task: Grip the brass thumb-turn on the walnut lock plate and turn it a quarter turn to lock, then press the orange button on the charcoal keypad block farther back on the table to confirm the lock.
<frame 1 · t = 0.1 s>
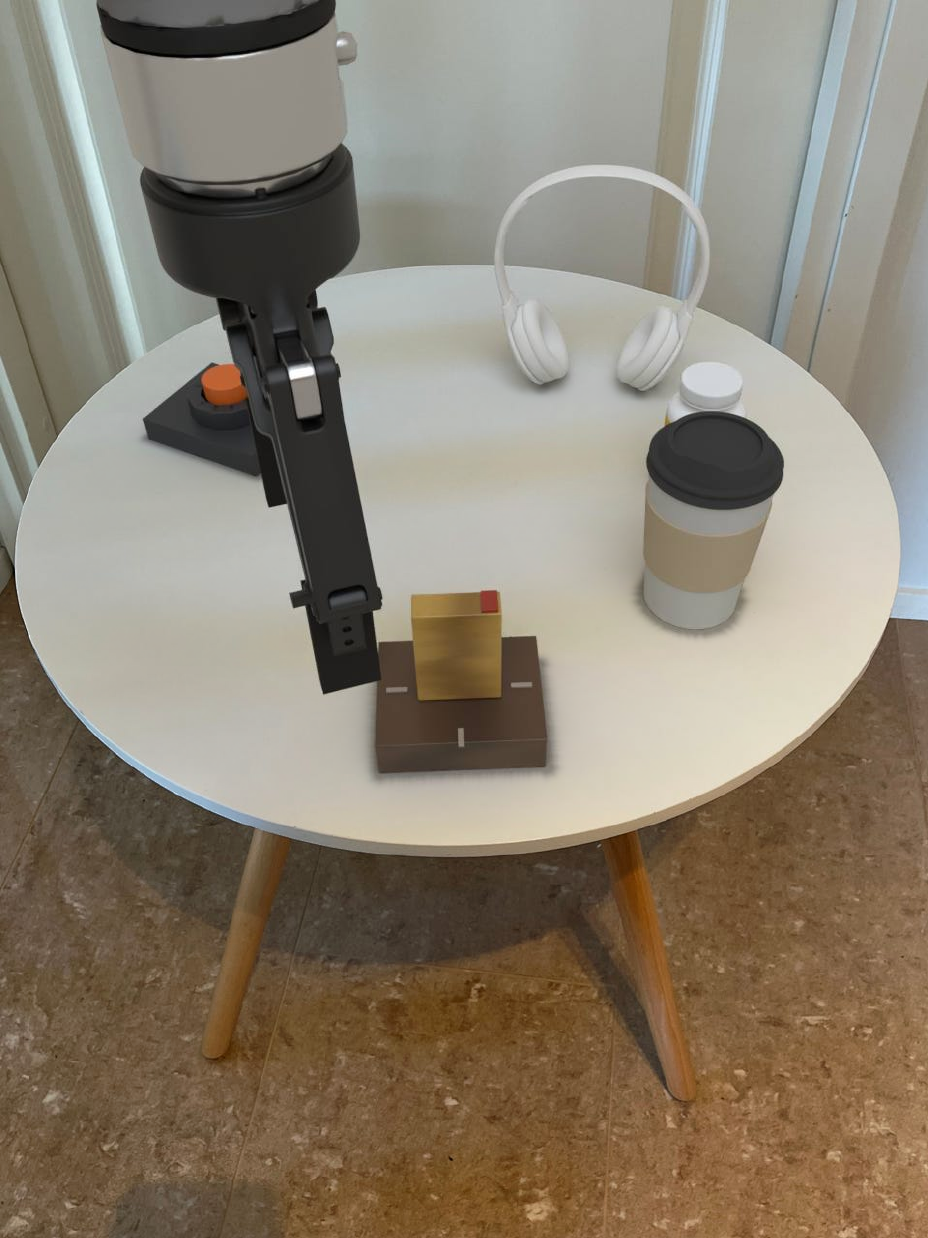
hand: (318, 582, 53), 20 cm above the table, tool pointing down, fingers open, 13 cm apart
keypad: (235, 426, 96), on the table
headphones: (591, 382, 100), on the table
lock plate: (460, 716, 72), on the table
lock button: (226, 384, 93), point 4 cm above the table, slide at 0.1 cm
coffee cup: (689, 598, 80), on the table
lock knob: (457, 646, 67), point 7 cm above the table, hinge at 0.0°
pill bottle: (692, 492, 89), on the table
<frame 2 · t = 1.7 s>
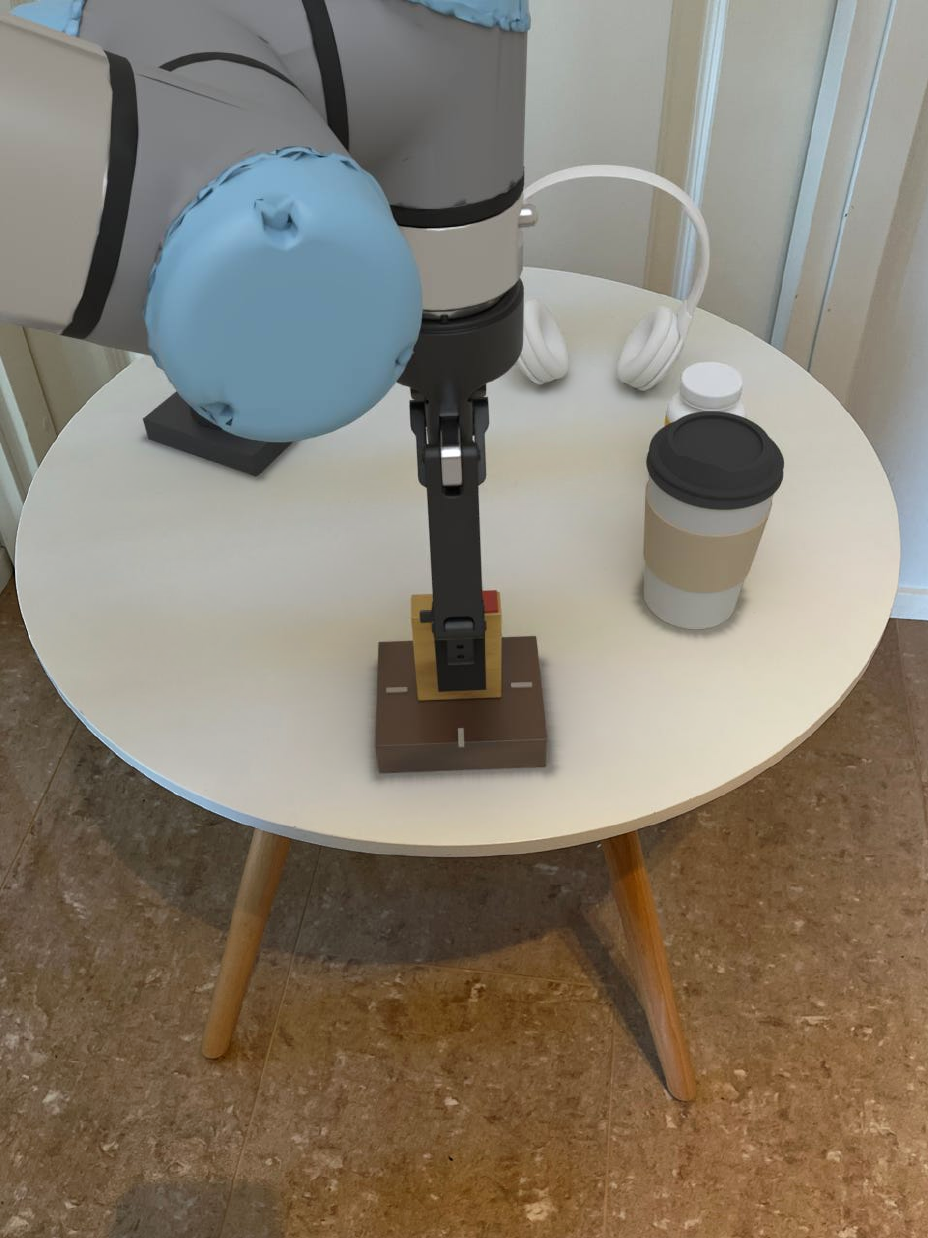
hand: (458, 600, 64), 11 cm above the table, tool pointing down, fingers open, 13 cm apart
nothing on the table moved.
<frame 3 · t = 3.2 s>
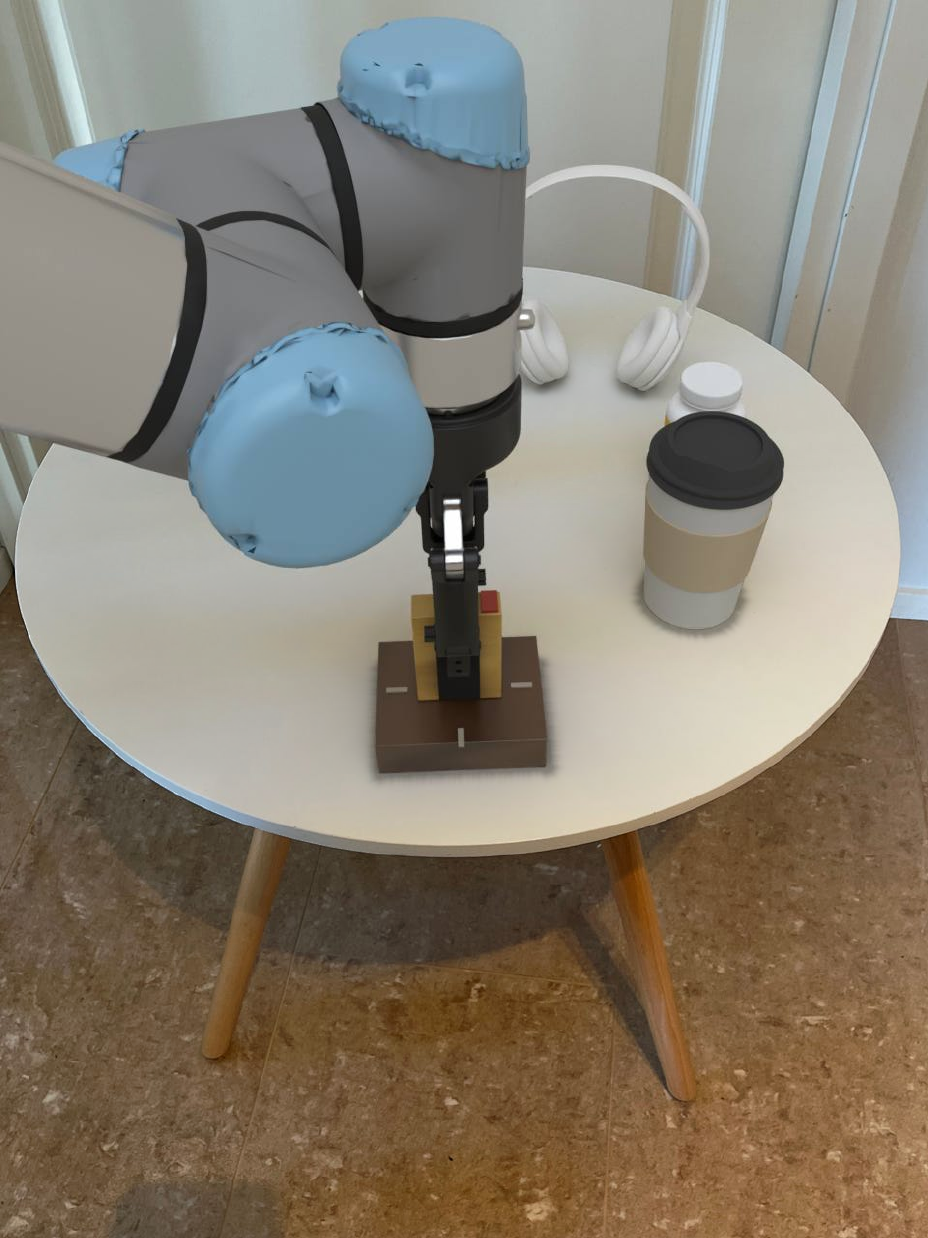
hand: (458, 678, 70), 4 cm above the table, tool pointing down, fingers closed on lock knob, 2 cm apart
lock knob: (457, 646, 67), point 7 cm above the table, hinge at 0.0°, touching gripper
everything else where it was.
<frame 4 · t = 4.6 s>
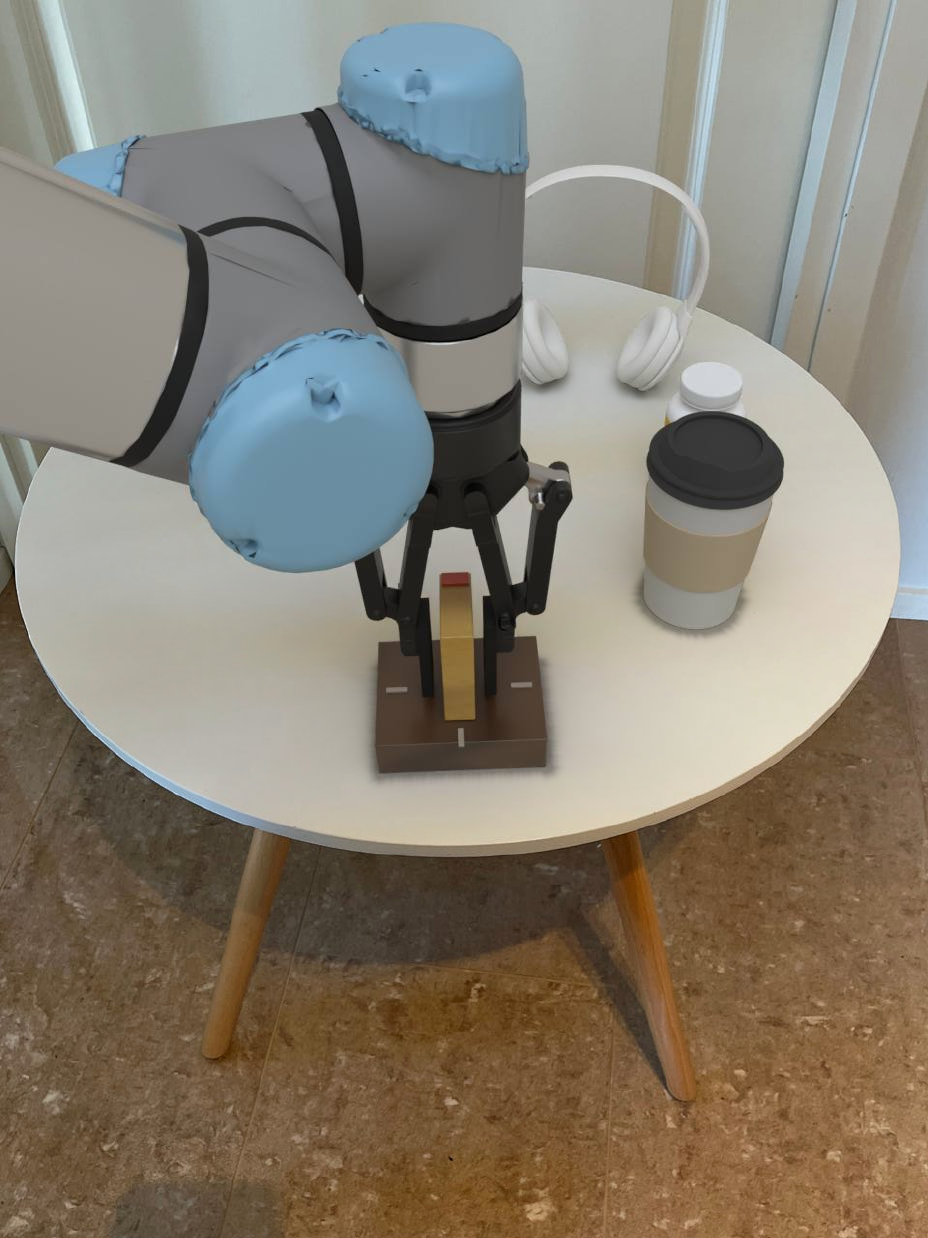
hand: (459, 679, 70), 4 cm above the table, tool pointing down, fingers open, 3 cm apart
lock knob: (457, 646, 67), point 7 cm above the table, hinge at 89.5°
everything else where it was.
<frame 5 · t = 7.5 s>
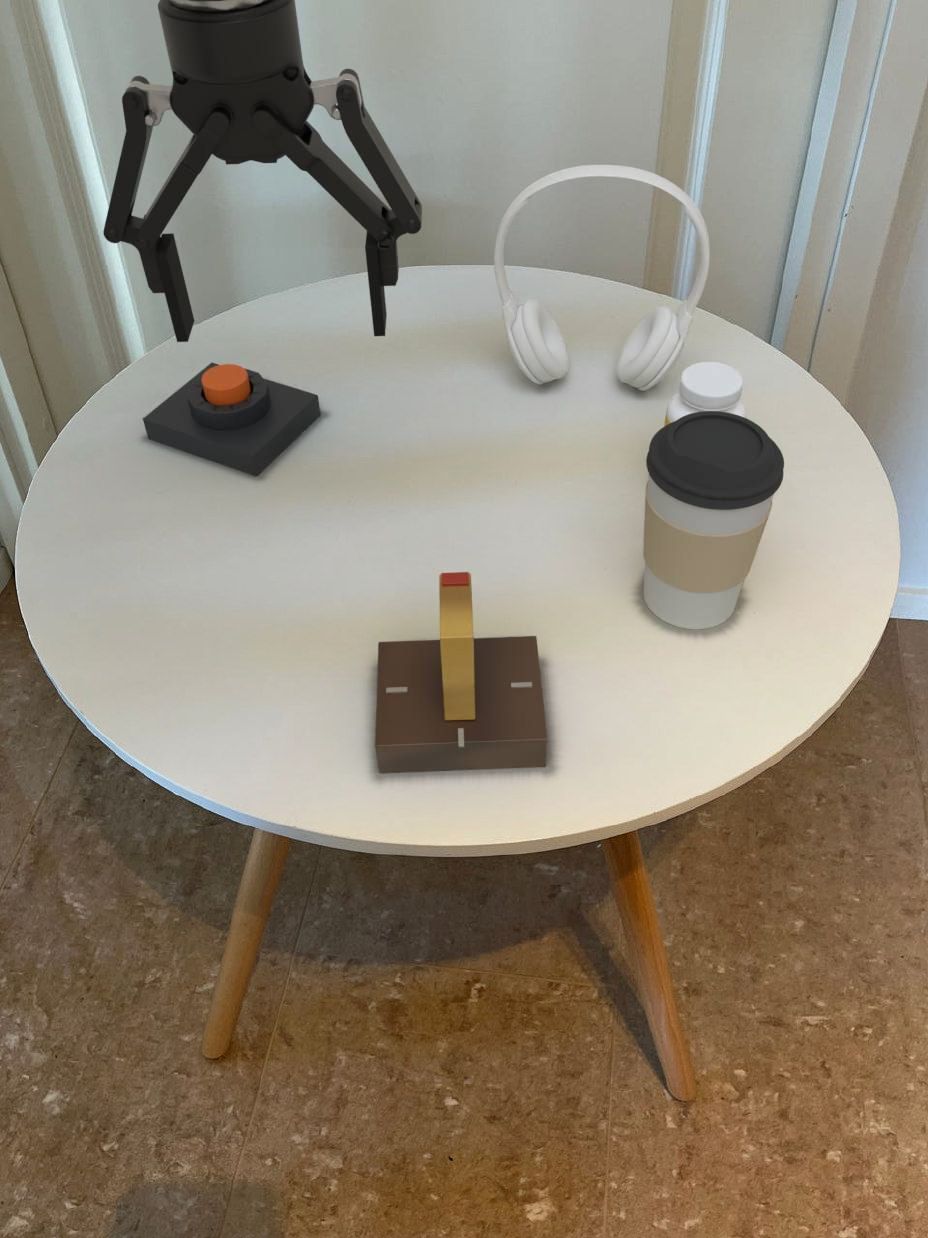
hand: (283, 328, 74), 18 cm above the table, tool pointing down, fingers open, 13 cm apart
nothing on the table moved.
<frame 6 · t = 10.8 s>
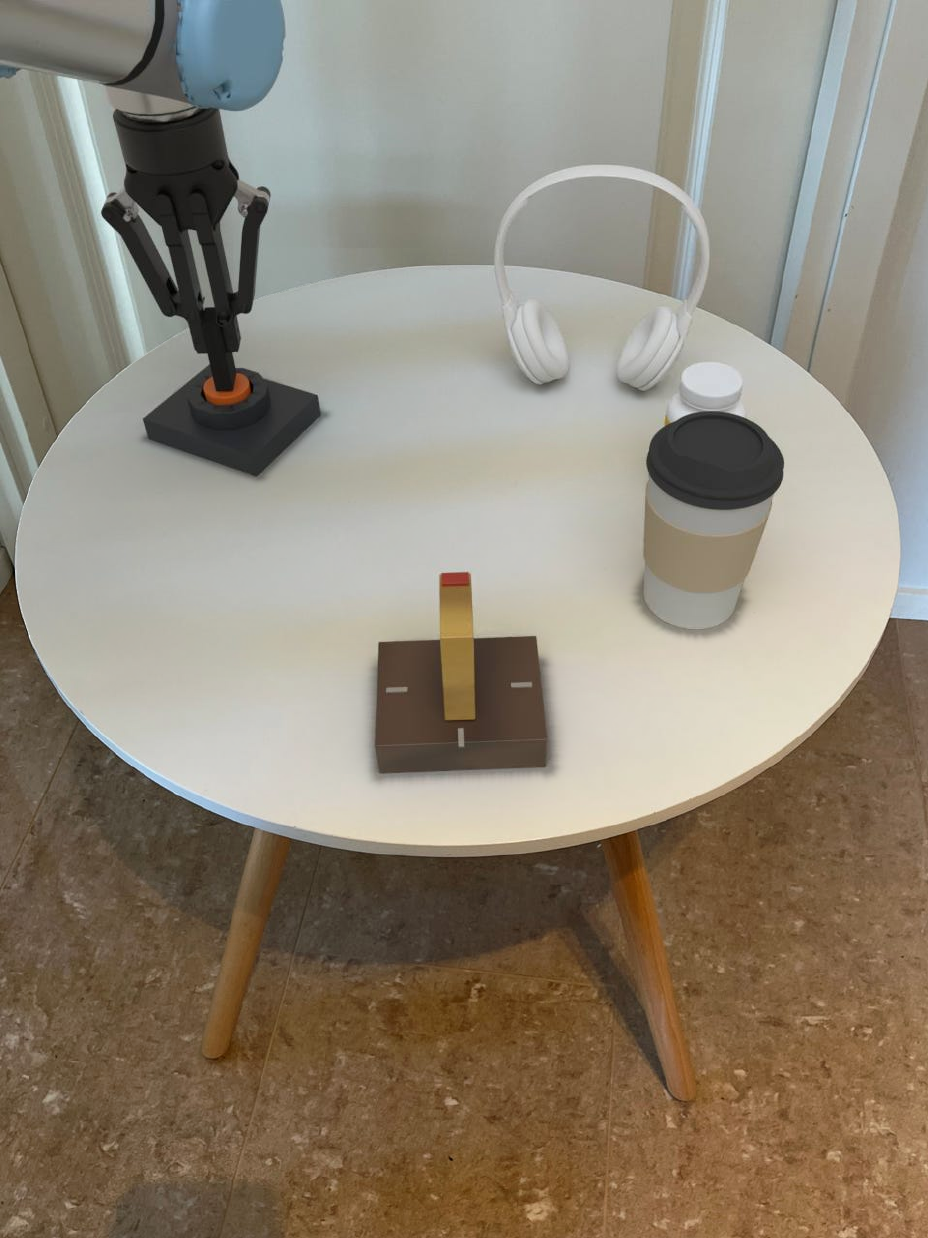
hand: (226, 381, 93), 5 cm above the table, tool pointing down, fingers closed
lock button: (228, 392, 93), point 4 cm above the table, slide at -0.7 cm, touching gripper
everything else where it was.
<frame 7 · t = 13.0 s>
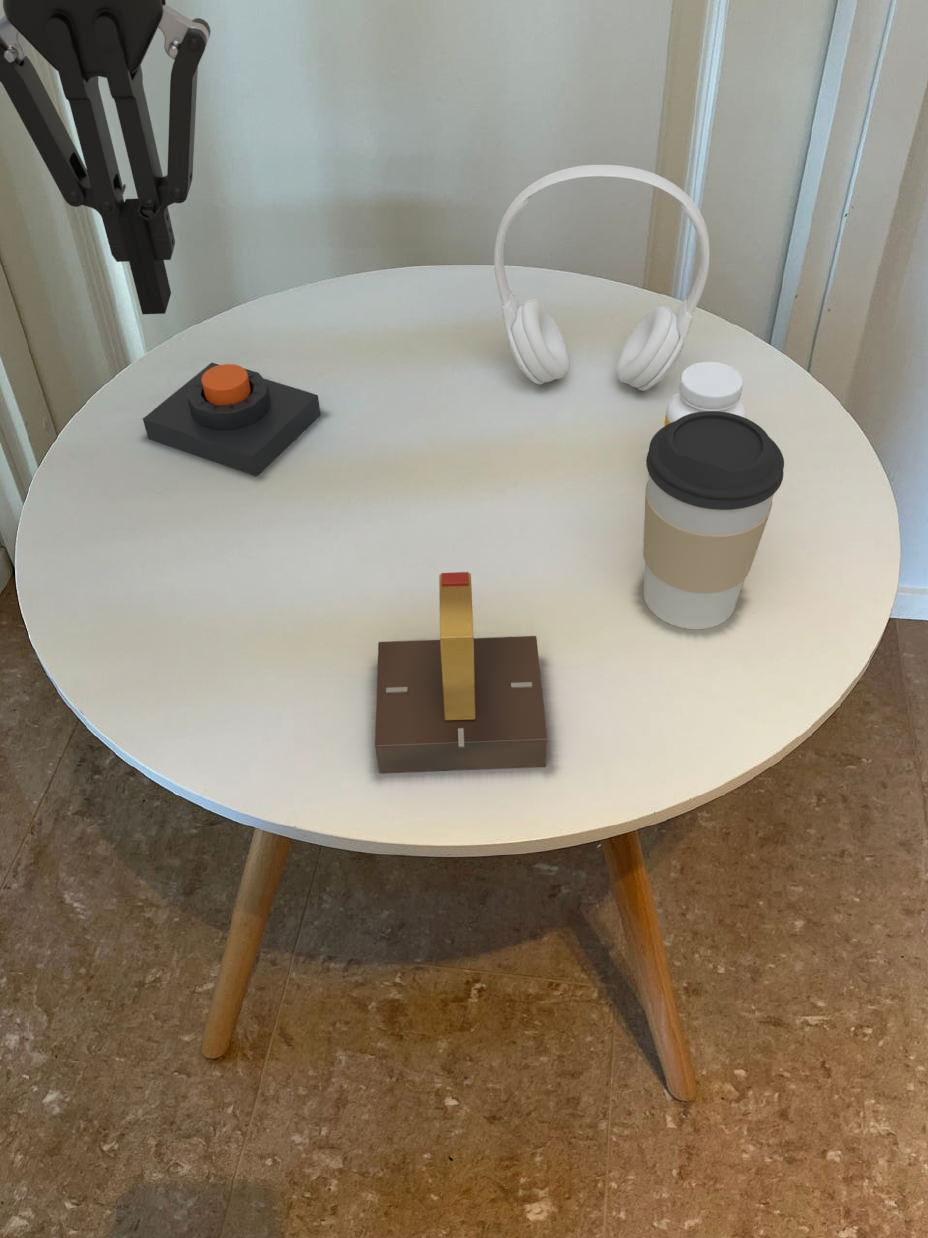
hand: (156, 303, 70), 21 cm above the table, tool pointing down, fingers closed
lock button: (226, 384, 93), point 4 cm above the table, slide at 0.1 cm
everything else where it was.
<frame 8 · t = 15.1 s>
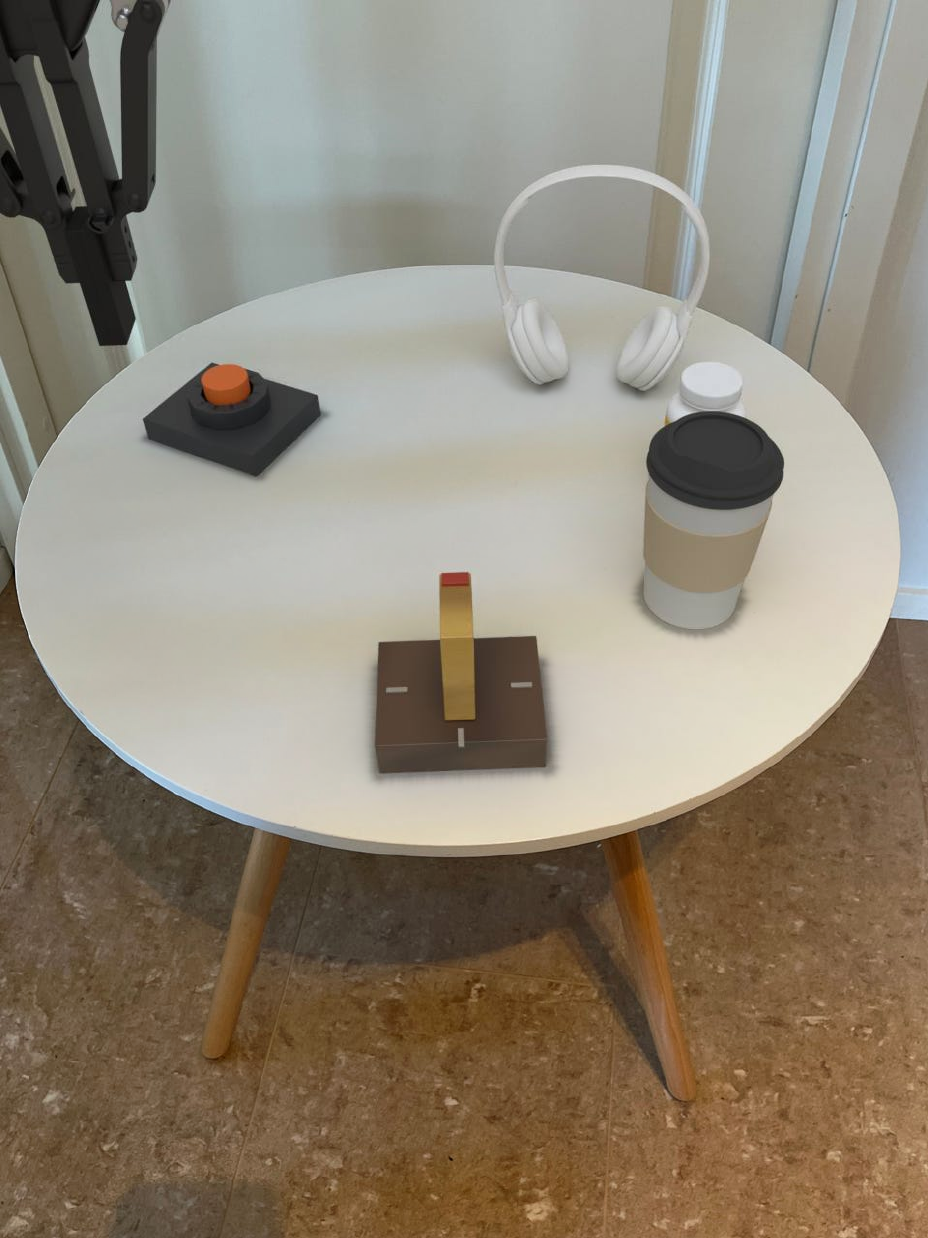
hand: (117, 331, 58), 26 cm above the table, tool pointing down, fingers closed
nothing on the table moved.
at the end: lock knob at +90° (first picture: +0°); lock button pushed in 1.0 cm at the most during the clip, back to where it started at the end; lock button slide at 0.1 cm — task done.
